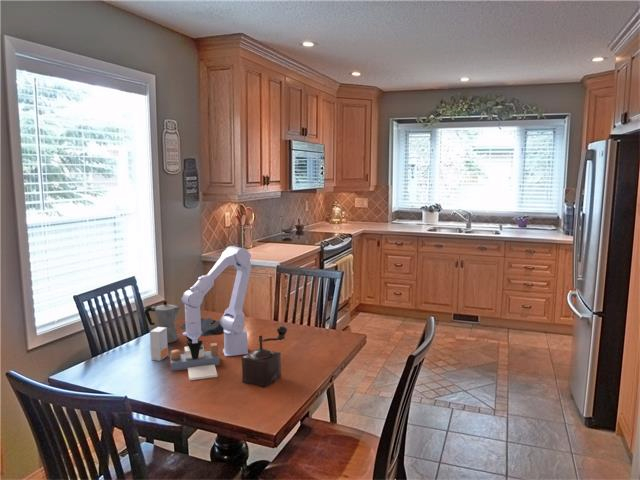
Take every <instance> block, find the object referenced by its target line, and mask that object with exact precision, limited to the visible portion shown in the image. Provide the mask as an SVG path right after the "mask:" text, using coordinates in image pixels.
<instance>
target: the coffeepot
mask: <svg viewBox="0 0 640 480" xmlns="http://www.w3.org/2000/svg"><path fill="white" fill-rule="evenodd" d="M162 302H163V303H162V304H161V305H157V306H147V307H146V308H145V310H144V313H143V314H144V315H145V317H146V320H147V322H148V324H149V325H150V326H155V324H156V323H155V322H153V321H152V318H151V316H150V315H151V314H150V312H155V319H156V322H157V324H158V326H157V327H166V328H167V344H171V343H174V342H176V341H177V340H178V339H179V337H178V333H177V328H176V325H175V321H176V316H177V314H178V312H179V310H180V309H181V308H182V307H181V306H179V305H174V304H167V303H168V301H167V300H163V301H162Z"/></svg>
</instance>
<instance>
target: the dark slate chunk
mask: <svg viewBox="0 0 640 480" xmlns="http://www.w3.org/2000/svg"><path fill="white" fill-rule="evenodd" d="M181 328H182V329H181ZM179 329H181V330H184V329H186V324H185V323H184V324H181V326H180V327H179ZM201 331H202V334H201V335H200V336H202V337H207V336H208V337H210V336H212V335H216V334H221V333H222V332H223V333H224V329H223V327H222V326H221V324H220V321H219V320H215V319H212V318H210V317H209V318H203V317H201Z"/></svg>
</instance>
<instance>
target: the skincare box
mask: <svg viewBox="0 0 640 480" xmlns="http://www.w3.org/2000/svg"><path fill="white" fill-rule="evenodd" d="M149 337H150V338H149V340H150V342H149V343H150V358H151V359H150V360H151V361H157V362H158V361H160V362H161V361H162V360H163V359H165V358H166V357H168V356H169V352H168V351H169V350H168V343H167V328H166V327H158V326H157V327H155V328H153V329H152V330H150V331H149Z"/></svg>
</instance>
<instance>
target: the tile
mask: <svg viewBox="0 0 640 480" xmlns="http://www.w3.org/2000/svg"><path fill="white" fill-rule="evenodd" d="M187 375H188V380H189V381H196V380H204V379H209V378H211V379H212V378H217V377H218V371H217V369H216V365H215V364H213V365H206V366H198V367H190V368H188V369H187Z"/></svg>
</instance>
